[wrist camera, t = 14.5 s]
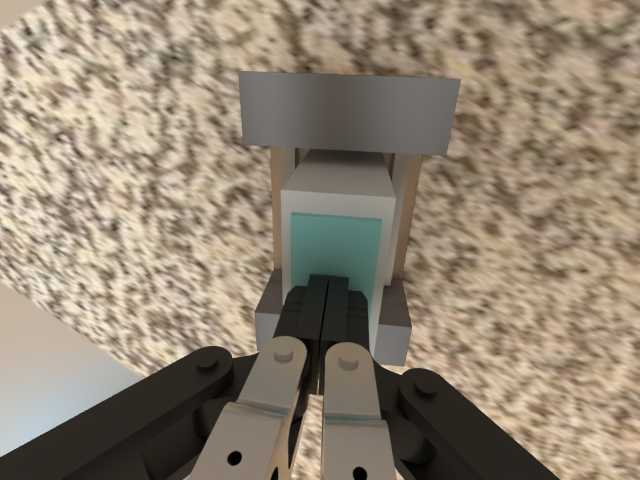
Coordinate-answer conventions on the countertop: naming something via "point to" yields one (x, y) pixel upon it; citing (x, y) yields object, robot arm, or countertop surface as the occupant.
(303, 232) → the block
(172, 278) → the countertop surface
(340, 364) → the robot arm
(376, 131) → the rack
